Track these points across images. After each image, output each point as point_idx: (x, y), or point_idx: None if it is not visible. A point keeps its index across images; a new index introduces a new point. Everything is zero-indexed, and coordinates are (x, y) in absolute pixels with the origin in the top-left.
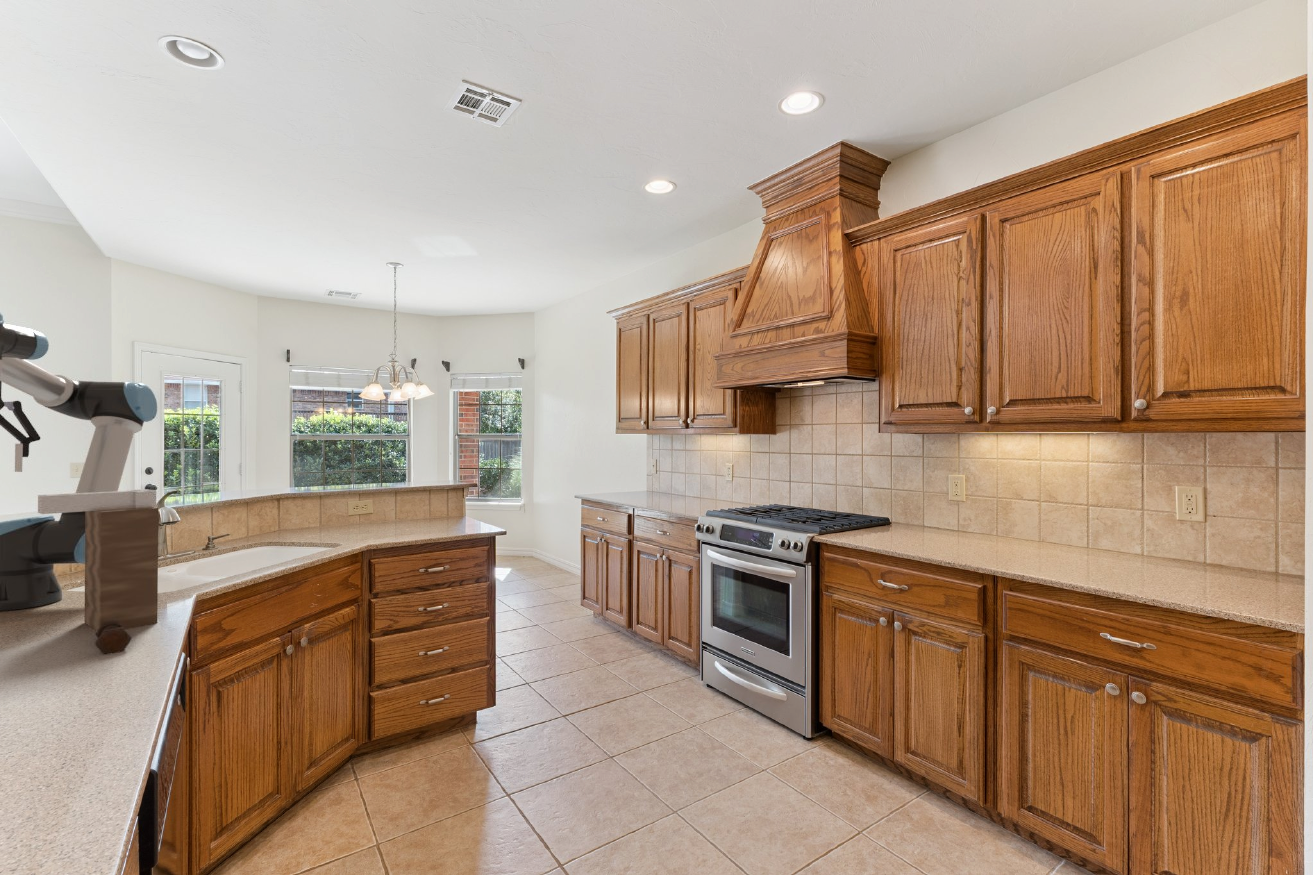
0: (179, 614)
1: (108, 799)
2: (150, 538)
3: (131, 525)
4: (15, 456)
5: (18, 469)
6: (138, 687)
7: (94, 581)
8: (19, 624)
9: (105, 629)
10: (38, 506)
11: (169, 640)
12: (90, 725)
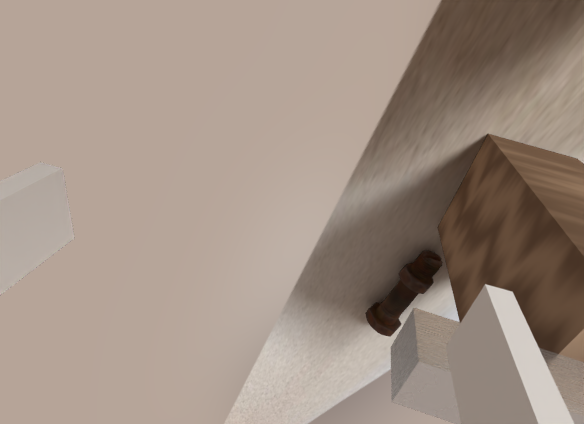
0: None
1: None
2: None
3: None
4: (517, 416)
5: (454, 360)
6: (325, 393)
7: (472, 243)
8: (446, 17)
9: (401, 291)
10: (411, 331)
11: None
12: (273, 410)
